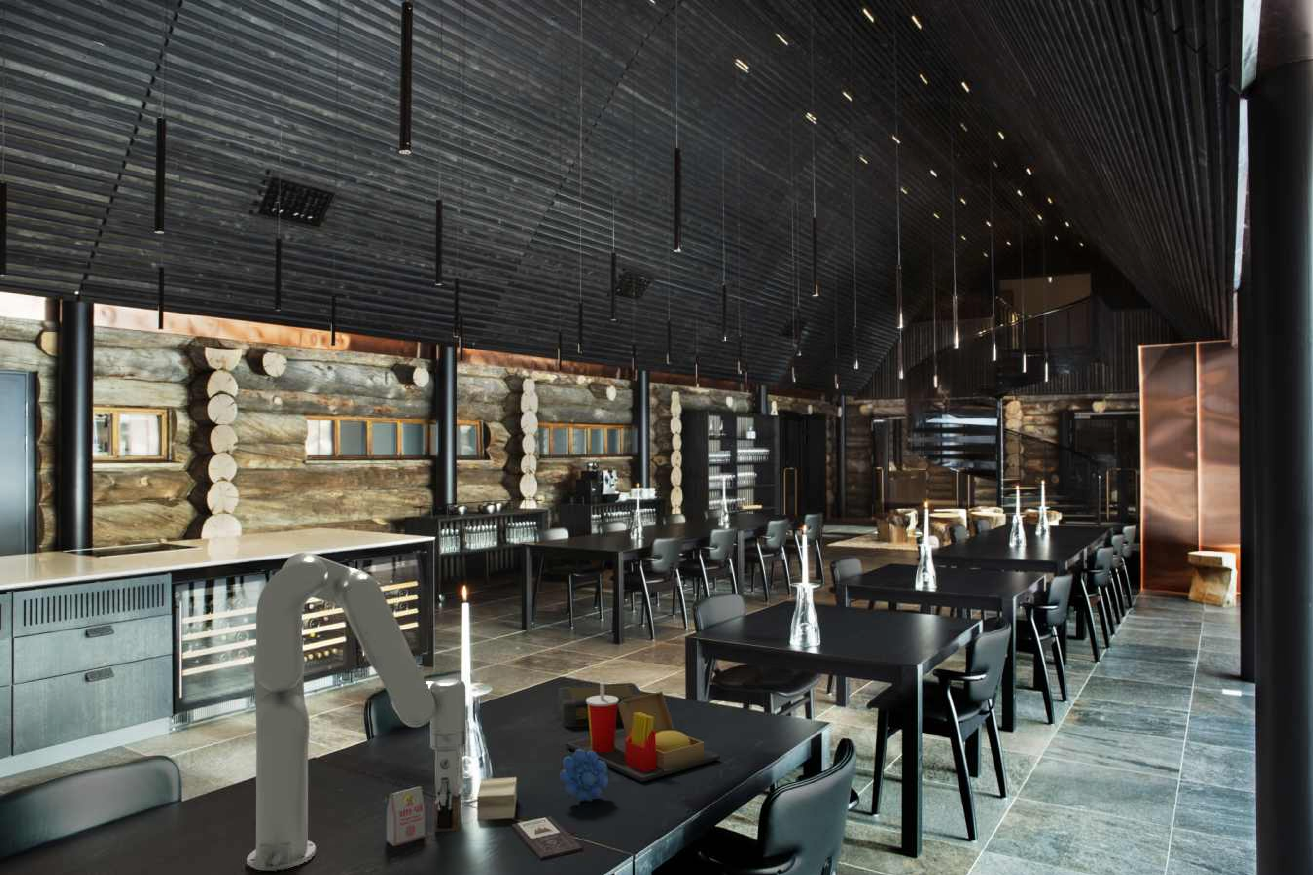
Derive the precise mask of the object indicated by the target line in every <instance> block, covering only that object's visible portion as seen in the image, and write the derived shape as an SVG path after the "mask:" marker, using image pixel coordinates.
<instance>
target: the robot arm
mask: <svg viewBox="0 0 1313 875" xmlns="http://www.w3.org/2000/svg"><path fill="white" fill-rule="evenodd" d="M311 598H315V599H317V600H320V601H324V602H326V603H330V604H334V605H336V606H341V609H342V610H343V612H344V615H345V616H346V619H347V621H348V623H349V625H350V627H351V629H352V632H353V633H354V635H355V638H356V639H357V642H358V644H359V645H360V648H361V649H362V652H363V654H364V655H365V656H366V659H367V661H368V663H369V664H370V666H371V667H372V668H373V669H374V671H375V672H376V674H377V675H378V677H379V678H380V680H381V682H382V684H383V685H384V687H385V689H386V691H387V693H388V696H389V697H390V703H391V706H392V709H393V710H394V712H395V713H396V715H397V716H398V718H399V719H400V721H401V722H402V723H403V724H404V725H406V726H407V727H410V728H420V727H423V726H425V725H427V724H428V723H429V748H430V749H432V750H434V751H435V752H434V753H435V754H434V786H435V787H434V788H435V792H434V793H435V797H436V798H437V797H438V798H439V799H438V809H437V828H438V829H450V828H452V827H453V808H452V797H453V796H456V797H457V796H458V795H459V794H461V791H462V786H463V784H464V771H463V747H465V745H466V744H467V743H466V739H467V738H466V736H467V735H466V733H467V732H466V684H465V683H464V681H462V680H461V679H458V678H444V679H438V680H436V681H426V679H425V677H424V674H423V673H422V671H421V669H420V667H419V665H418V663H417V661H416V659H415V657H414V656H413V653H412V651H411V649H410V647H409V644H408V642H407V640H406V637H405V636H404V633H403V631H402V629H401V627H400V626H399V623H398V622H397V620H396V618H395V615H394V613H393V611H392V609H391V607H390V605H389V602H388V600H387V598H386V595H384V592H383V590H382V588H381V586H380V584H379V583H378V581H377V579H375V578H374V577H373V576H372V575H370V574H369V573H367V572H366V571H363V570H360V569H357V568H353V567H351V566H347V565H344V564H341V563H339V562H336V561H333V560H330V559H328V558H325V557H321V556H318V555H317V554H314V553H310V552H299V553H296V554H294V555H292V556H290V557H289V558H288V559H287V560H286V561H285V562H284V564H283V565H282V568H281V569H280V570H278V571H277V572H276V573H274V574H273V576H272V577H271V578H270V579H269V580H268V581H267V583H266V584H265V585H264V587H263V589H262V590H261V592H260V594H259V597H258V601H257V603H256V613H255V646H256V647H255V649H256V650H255V654H254V658H253V683H254V684H253V685H254V686H253V687H254V705H255V745H256V746H255V748H256V749H255V750H256V753H255V756H256V757H255V786H256V787H255V788H256V789H255V795H256V796H255V849H254V850H252V851H251V852H250V853H249V854H248V856H247V858H246V865H247V864H248V865H249V866H251V867H253V868H255V869H257V870H275V869H285V868H291V867H294V866H297V865H299V866H301V865H300V864H302V865H303V863H304V862H306V863H307V862H309V861H310V860H312V859H313V858H314V857H315V856H316V854H315V853H317V845H316V843H314V842H313V841H312V840H309V800H308V799H309V744H310V743H309V741H310V717H309V712H308V709H307V706H306V701H305V686H304V671H305V667H306V659H305V654H304V648H303V610H304V608H305V605H306V603H307V602H308V601H309V600H310V599H311ZM452 795H453V796H452ZM447 798H449V801H448V799H447ZM313 856H314V857H313ZM312 857H313V858H312ZM308 860H309V861H308ZM304 864H305V863H304ZM248 865H247V866H248ZM297 867H298V866H297ZM294 868H295V867H294ZM291 869H292V868H291Z"/></svg>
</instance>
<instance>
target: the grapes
mask: <svg viewBox="0 0 1313 875" xmlns="http://www.w3.org/2000/svg"><path fill="white" fill-rule="evenodd" d="M562 765H563V767H564V769H563V770H561V771H560V774H559V778H560V780H561V781H562V782H563V783H565V784H566V785H565V791H566V793H567V795H569V796H577V798H578V800H579V801H581V802H587V801H588V800H589V799H590V797H592V798H593V799H595V798H596V799H598V798H600V796H602V795H601V794H602V789H601V788H605V787H606V786H608V784H609V779H608V776H607V775H606V774H605V773H606V772H607V770H608V766H607V765H606V763H605V762H604V761H600V760H599V761H598V755H597V753H596V752H595V751H589V752H587V754H585V752H584V751H583V750H581V749H577V750H576V751H573V755H572V756H566V757H565V758H564V759H563V764H562Z"/></svg>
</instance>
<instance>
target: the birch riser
mask: <svg viewBox="0 0 1313 875" xmlns="http://www.w3.org/2000/svg"><path fill="white" fill-rule="evenodd" d="M480 780H481V781H480V785H479V788H478V791H477V798H476V799H477V801H476V802H477V804H476V806H477V808H476V810H477V811H476V812H477V816H476V817H477V820H478V821H481V820H482V821H483V820H484V821H485V820H497V819H498V820H499V819H514V818H515V814H516V806H517V800H518V799H517V798H518V797H517V795H518V794H517V792H518V791H517V788H518V786H517V784H518V783H517V782H518V781H517V776H513V777H494V778H493V777H491V778H481V779H480Z"/></svg>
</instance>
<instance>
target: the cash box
mask: <svg viewBox="0 0 1313 875" xmlns="http://www.w3.org/2000/svg"><path fill="white" fill-rule="evenodd" d="M604 695H606V696H614V697H617V698H618V702H617V704H618V703H619V702H621V701H622V700H626V699H630V698H635V697H640V696H644V694H643V693H642V691H641V690H640V688H639V687H638V686H637V685H636V684H635V683H633V682H623V683H608V684H607V683H606V684H605V683H604ZM593 696H601V695H600V684H594V685H589V684H588V685H578V686H577V685H575V686H573V685H572V686H564V687H560V688H559V689H558V713H559V715H560V718H561V722H562V725H563V727H566V728H580V727H581V728H583V727H589V715H588V704H587V702H586V699H588V698H590V697H593ZM617 723H623V721H622V718H621V714H620V711H619V708H618V705H617V713H616V725H618V724H617ZM582 726H583V727H582Z"/></svg>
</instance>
